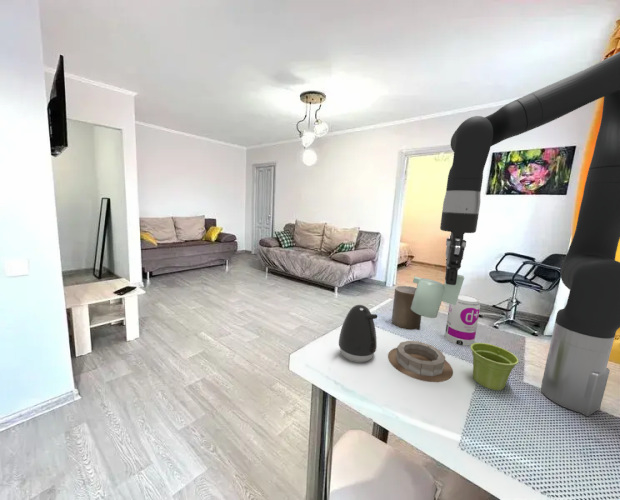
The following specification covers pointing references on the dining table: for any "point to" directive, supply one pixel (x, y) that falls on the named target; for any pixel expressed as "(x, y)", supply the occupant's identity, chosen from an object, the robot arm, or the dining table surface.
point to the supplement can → (463, 320)
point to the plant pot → (492, 365)
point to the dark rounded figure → (358, 335)
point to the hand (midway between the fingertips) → (450, 282)
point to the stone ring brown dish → (420, 361)
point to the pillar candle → (405, 309)
